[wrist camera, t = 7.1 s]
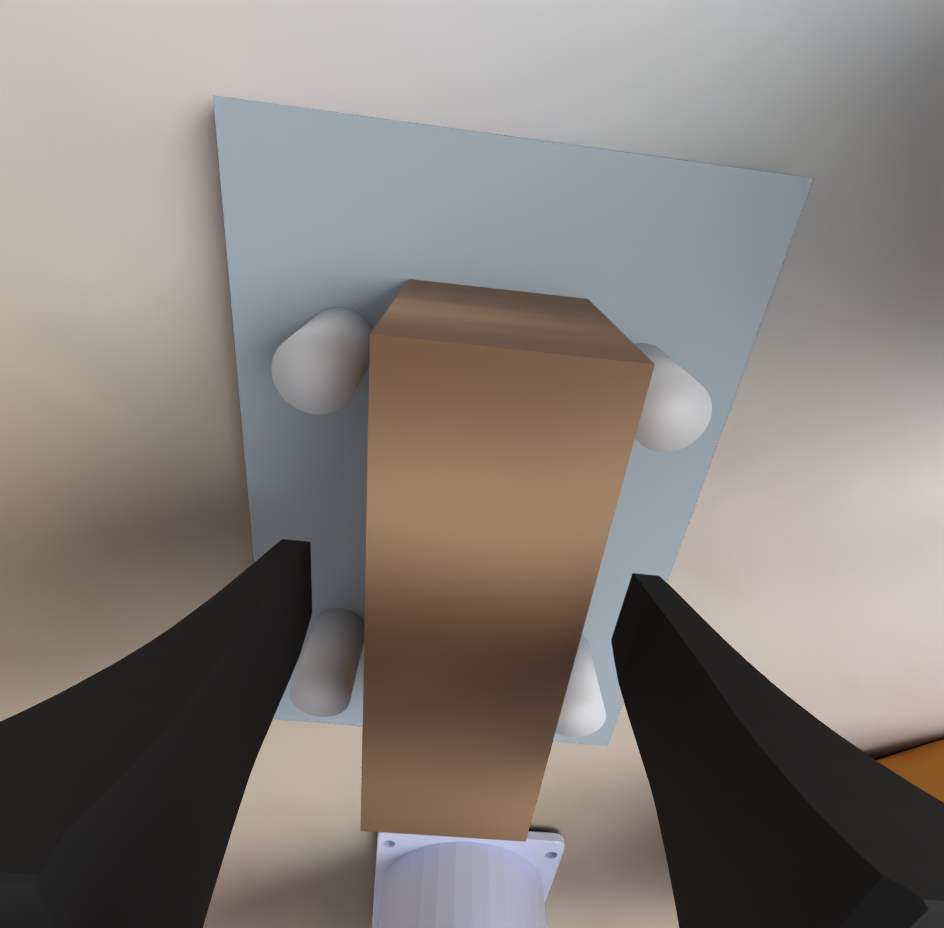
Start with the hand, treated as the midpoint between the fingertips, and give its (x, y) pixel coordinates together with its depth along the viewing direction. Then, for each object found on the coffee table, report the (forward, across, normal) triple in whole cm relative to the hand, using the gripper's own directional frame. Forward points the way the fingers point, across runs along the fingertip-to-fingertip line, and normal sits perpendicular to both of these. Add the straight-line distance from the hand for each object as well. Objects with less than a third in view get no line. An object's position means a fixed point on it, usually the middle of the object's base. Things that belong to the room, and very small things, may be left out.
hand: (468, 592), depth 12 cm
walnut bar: (+3, 0, 0) cm, 3 cm away
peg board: (+4, 0, 0) cm, 4 cm away
